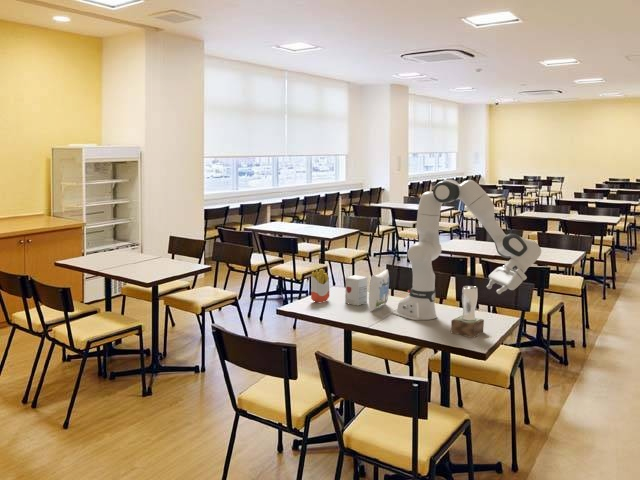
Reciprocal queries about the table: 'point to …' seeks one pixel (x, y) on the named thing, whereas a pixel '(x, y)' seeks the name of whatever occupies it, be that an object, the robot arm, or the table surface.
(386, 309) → the table surface
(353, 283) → the supplement box
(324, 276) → the french fries container
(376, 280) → the pouch
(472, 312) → the beer glass
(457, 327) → the brown green square block
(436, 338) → the table surface
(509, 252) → the robot arm
